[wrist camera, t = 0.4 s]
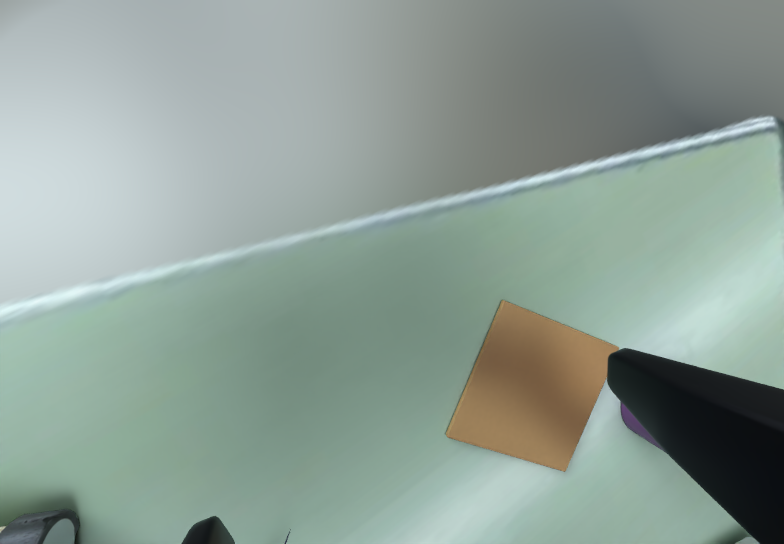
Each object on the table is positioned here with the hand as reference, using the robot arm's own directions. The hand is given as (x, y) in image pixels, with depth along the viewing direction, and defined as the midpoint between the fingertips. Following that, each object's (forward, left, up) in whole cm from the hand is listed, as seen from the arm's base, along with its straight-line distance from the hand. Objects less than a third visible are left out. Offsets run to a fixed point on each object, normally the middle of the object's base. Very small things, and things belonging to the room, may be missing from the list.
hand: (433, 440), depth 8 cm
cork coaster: (-2, -14, -16) cm, 21 cm away
